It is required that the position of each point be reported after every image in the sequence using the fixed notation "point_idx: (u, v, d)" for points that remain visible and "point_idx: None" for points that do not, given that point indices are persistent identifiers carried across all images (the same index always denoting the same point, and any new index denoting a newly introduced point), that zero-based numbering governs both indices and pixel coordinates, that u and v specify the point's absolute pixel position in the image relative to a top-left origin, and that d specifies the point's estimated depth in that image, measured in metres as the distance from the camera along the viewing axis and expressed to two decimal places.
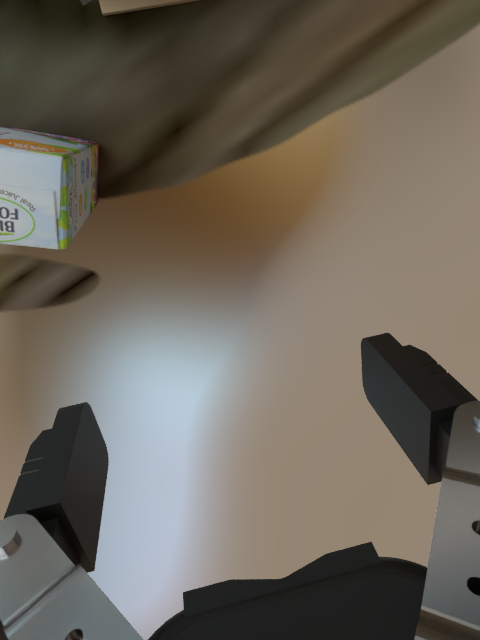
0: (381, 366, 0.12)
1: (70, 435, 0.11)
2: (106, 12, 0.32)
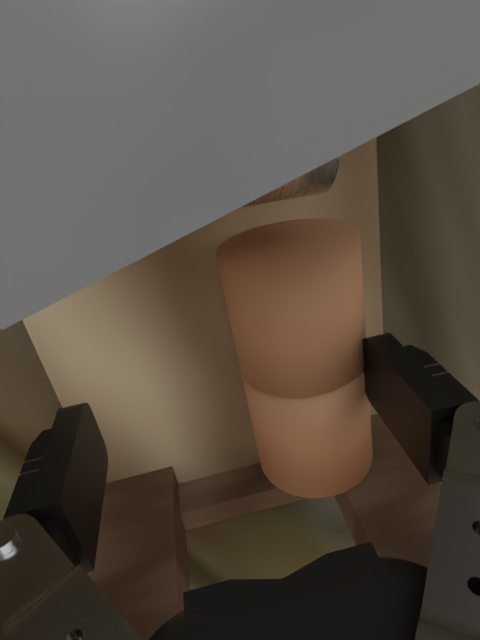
0: (381, 366, 0.12)
1: (70, 435, 0.11)
2: None
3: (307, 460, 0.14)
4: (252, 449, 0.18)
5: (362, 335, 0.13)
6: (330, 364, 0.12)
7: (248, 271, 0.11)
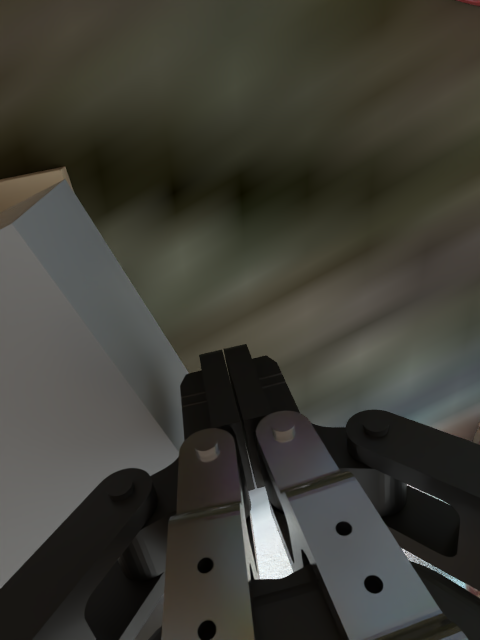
0: (230, 376, 0.13)
1: (222, 374, 0.12)
2: (54, 171, 0.18)
3: None
4: None
5: None
6: None
7: None
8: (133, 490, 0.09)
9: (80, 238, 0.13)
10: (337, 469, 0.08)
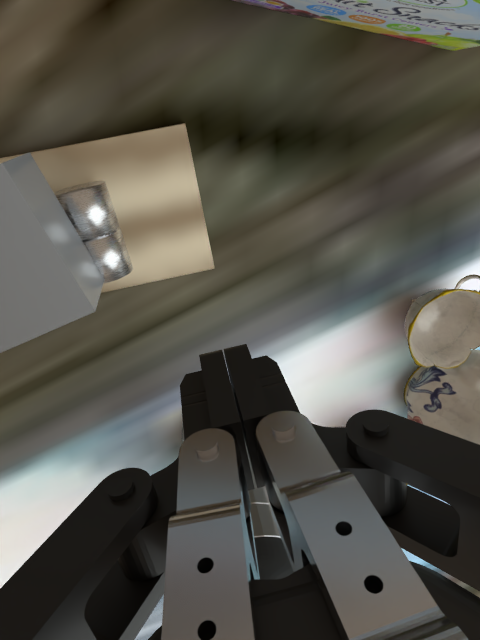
0: (230, 376, 0.13)
1: (222, 374, 0.12)
2: (181, 124, 0.34)
3: None
4: None
5: None
6: None
7: None
8: (133, 490, 0.09)
9: (33, 178, 0.29)
10: (337, 469, 0.08)
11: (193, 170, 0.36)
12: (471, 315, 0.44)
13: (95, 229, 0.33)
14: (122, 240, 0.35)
